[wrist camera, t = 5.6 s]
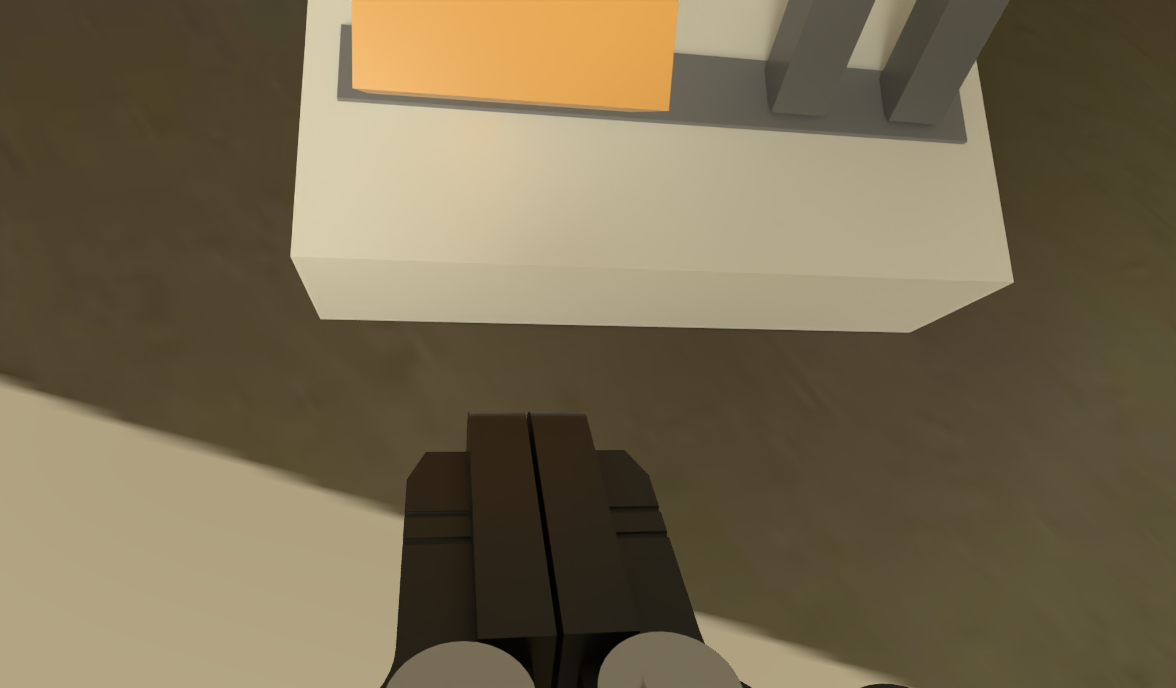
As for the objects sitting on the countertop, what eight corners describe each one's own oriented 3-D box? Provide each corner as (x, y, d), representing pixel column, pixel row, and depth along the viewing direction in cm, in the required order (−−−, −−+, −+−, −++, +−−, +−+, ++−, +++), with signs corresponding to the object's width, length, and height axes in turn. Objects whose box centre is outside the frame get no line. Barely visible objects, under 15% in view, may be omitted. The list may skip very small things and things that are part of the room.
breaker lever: (559, 12, 23) (687, -104, 11) (553, 114, 24) (668, 111, 12) (401, -3, 22) (349, -146, 10) (400, 103, 23) (351, 87, 11)
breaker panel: (873, 61, 35) (1084, -179, 23) (909, 332, 32) (1171, 206, 20) (338, 14, 31) (281, -302, 20) (320, 319, 28) (241, 153, 16)
